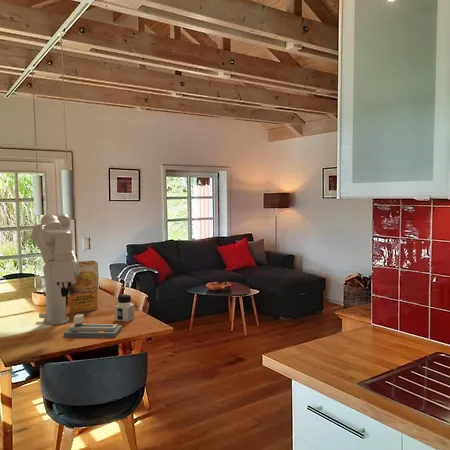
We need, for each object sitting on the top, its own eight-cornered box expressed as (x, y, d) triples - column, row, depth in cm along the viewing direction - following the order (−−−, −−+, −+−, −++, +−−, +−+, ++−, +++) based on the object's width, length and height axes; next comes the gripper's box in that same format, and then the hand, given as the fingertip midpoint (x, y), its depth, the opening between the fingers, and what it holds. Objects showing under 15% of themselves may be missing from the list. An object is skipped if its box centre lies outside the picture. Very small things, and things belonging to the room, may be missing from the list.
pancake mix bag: (64, 311, 237) (63, 262, 235) (98, 306, 247) (97, 259, 246) (67, 314, 231) (65, 263, 229) (101, 309, 242) (100, 261, 240)
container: (128, 321, 218) (128, 297, 218) (114, 320, 220) (114, 296, 219) (134, 317, 226) (134, 293, 225) (121, 316, 228) (120, 292, 227)
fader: (73, 329, 198) (73, 316, 197) (77, 326, 203) (77, 313, 202) (80, 329, 198) (79, 316, 197) (83, 326, 203) (83, 313, 202)
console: (63, 336, 194) (63, 329, 194) (73, 328, 206) (73, 321, 206) (115, 337, 194) (115, 330, 194) (122, 329, 206) (121, 322, 206)
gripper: (44, 258, 194) (45, 297, 195) (76, 258, 194) (77, 298, 195) (51, 256, 202) (52, 294, 203) (82, 256, 201) (83, 294, 203)
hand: (64, 296), depth 199 cm, fingers closed
